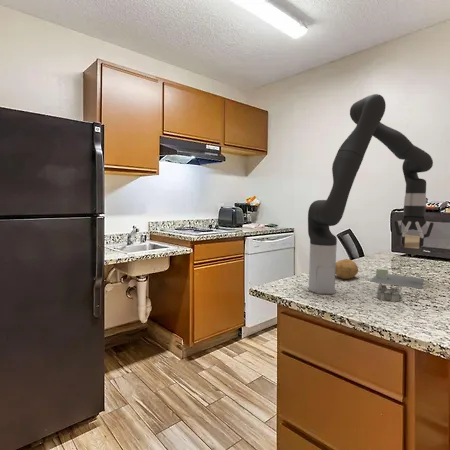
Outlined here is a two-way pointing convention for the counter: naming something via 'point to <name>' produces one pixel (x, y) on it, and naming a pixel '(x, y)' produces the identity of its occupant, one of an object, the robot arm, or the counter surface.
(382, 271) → the sage block
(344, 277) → the potato
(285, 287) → the counter surface
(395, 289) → the miniature stone castle
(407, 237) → the maple block
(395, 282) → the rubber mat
